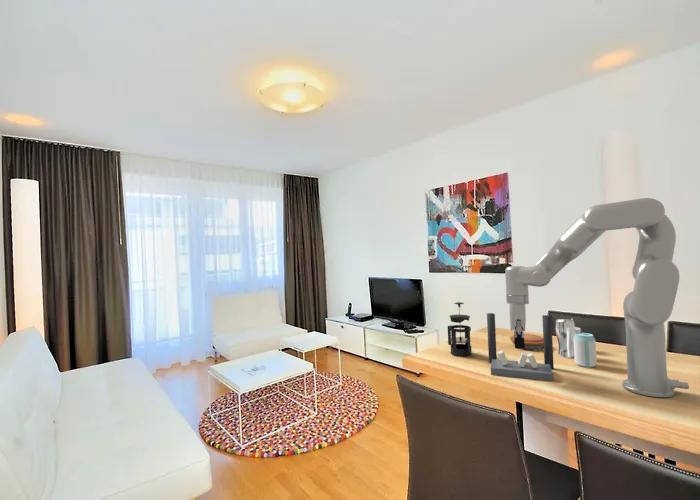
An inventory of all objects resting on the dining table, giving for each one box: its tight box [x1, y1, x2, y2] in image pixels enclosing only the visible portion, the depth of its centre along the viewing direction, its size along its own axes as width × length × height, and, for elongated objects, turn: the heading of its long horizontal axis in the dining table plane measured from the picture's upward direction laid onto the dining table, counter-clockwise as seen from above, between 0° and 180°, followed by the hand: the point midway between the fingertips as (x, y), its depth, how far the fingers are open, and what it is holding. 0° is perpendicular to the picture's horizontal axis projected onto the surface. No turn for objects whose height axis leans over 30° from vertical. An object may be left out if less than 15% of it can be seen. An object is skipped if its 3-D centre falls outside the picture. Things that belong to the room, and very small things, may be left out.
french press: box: [447, 301, 473, 358], centre depth 154 cm, size 12×9×23 cm
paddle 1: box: [497, 349, 509, 365], centre depth 130 cm, size 2×4×4 cm, turn 155°
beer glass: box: [555, 318, 576, 359], centre depth 145 cm, size 7×7×15 cm
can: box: [574, 332, 598, 369], centre depth 133 cm, size 7×7×12 cm
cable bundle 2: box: [541, 314, 555, 370], centre depth 132 cm, size 3×3×20 cm
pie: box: [509, 333, 544, 351], centre depth 161 cm, size 15×16×5 cm
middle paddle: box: [518, 351, 528, 368], centre depth 127 cm, size 2×4×4 cm, turn 155°
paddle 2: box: [526, 352, 538, 368], centre depth 126 cm, size 2×4×4 cm, turn 155°
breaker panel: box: [490, 358, 554, 382], centre depth 128 cm, size 20×11×2 cm, turn 65°
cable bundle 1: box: [486, 312, 498, 364], centre depth 140 cm, size 3×3×20 cm
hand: (519, 345), depth 128 cm, fingers open, 9 cm apart
